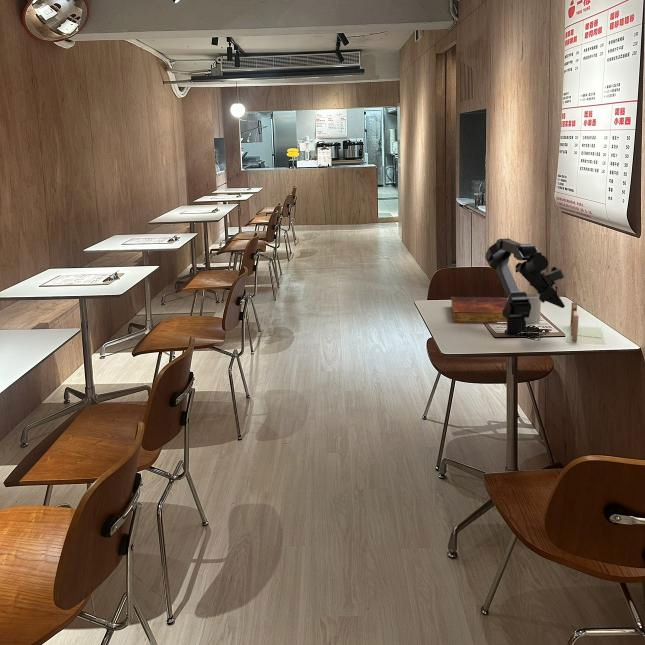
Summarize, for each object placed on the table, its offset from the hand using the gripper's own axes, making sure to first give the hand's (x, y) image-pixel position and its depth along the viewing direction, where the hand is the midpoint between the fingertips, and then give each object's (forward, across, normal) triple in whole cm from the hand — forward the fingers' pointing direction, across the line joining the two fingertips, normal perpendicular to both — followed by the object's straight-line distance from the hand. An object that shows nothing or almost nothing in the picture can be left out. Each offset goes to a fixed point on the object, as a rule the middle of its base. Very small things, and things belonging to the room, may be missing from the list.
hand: (563, 307), depth 290 cm
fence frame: (+12, +15, +6) cm, 20 cm away
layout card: (+14, +10, +3) cm, 18 cm away
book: (-13, +35, +32) cm, 49 cm away
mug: (0, +28, +18) cm, 34 cm away
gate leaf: (+11, +2, +5) cm, 13 cm away
